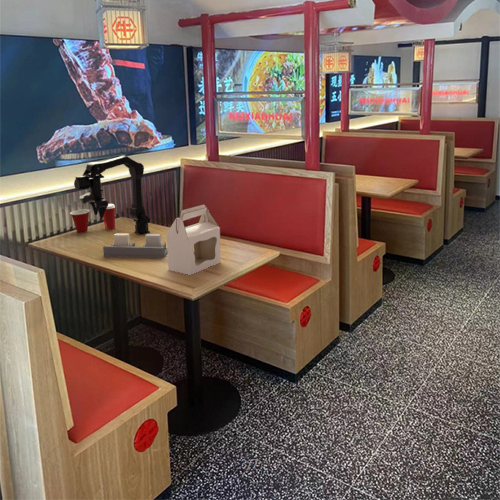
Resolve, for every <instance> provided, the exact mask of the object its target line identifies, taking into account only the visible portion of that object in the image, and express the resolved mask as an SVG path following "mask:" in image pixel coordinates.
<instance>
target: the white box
mask: <svg viewBox="0 0 500 500" xmlns="http://www.w3.org/2000/svg"><path fill="white" fill-rule="evenodd" d="M144 236H145V237H144V239H145V243H146V247H161V245H162V234H160V233H146V234H145V235H144Z"/></svg>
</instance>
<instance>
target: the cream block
mask: <svg viewBox="0 0 500 500" xmlns="http://www.w3.org/2000/svg"><path fill="white" fill-rule="evenodd" d="M113 243H114V245H115V246H129V245H130V244H131V240H130V233H115V234H113Z"/></svg>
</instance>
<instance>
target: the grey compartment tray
mask: <svg viewBox="0 0 500 500" xmlns="http://www.w3.org/2000/svg"><path fill="white" fill-rule="evenodd" d="M102 250H103V251H102V252H103V258H130V259H131V258H134V259H135V258H137V259H143V258H144V259H164V258H165V257H166V256H168V251H167V242H163V243H161V247H146V242H145V243H144V244H143V245H141V246H140V245H137V246H136V241H132V242H130V245H129V246H115V245H114V242H113V243H112V244H111V245H103V246H102Z"/></svg>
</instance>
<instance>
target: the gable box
mask: <svg viewBox="0 0 500 500" xmlns="http://www.w3.org/2000/svg"><path fill="white" fill-rule="evenodd" d="M196 217H200V218H199V221H198V223H195V224H191V225H188V226H185V223H184V221H186V220H191V219H192V218H193V219H194V218H196ZM166 248H167V251H168V253H167V266H168V267H167V269H168V271H170V270H171V271H172V272H174V271H175V273H178V272H180V273H179V274H181V273H184V274H183V275H185V274H188V275H187V276H189V275H190V276H192V275H191V274H193V275H195V274H197V273H199V271H200V272H202V271H204V270H203V269H205V270H207V269H209V268H211V267H210V266H212V267H214V266H217V265H219V264H221V263H222V262H221V260H222V259H221V256H222V255H221V227H220V225H219V224H218V222H217V221H216V220H215V218H214V216H213V215H212V214H211V212H210V210H209V209H208V207H207V206H206V205H205V204H200V205H197V206H196V205H195V206H193V207H189V208H186V209H182V210H180V211H179V216H178V217H176V218H175V219H174V221H173V223H172V225H170V228H169V229H168V230H167V232H166ZM220 262H221V263H220ZM218 263H219V264H218ZM216 264H217V265H216ZM213 265H214V266H213ZM208 267H209V268H208ZM206 268H207V269H206ZM201 270H202V271H201ZM196 272H197V273H196ZM194 273H195V274H194Z"/></svg>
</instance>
